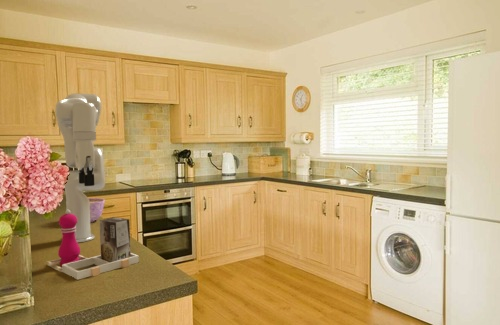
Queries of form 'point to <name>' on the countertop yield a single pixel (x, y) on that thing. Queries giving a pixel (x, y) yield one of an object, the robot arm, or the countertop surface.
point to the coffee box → (115, 239)
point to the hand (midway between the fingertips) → (86, 184)
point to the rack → (100, 268)
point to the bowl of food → (95, 208)
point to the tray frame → (52, 263)
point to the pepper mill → (68, 239)
